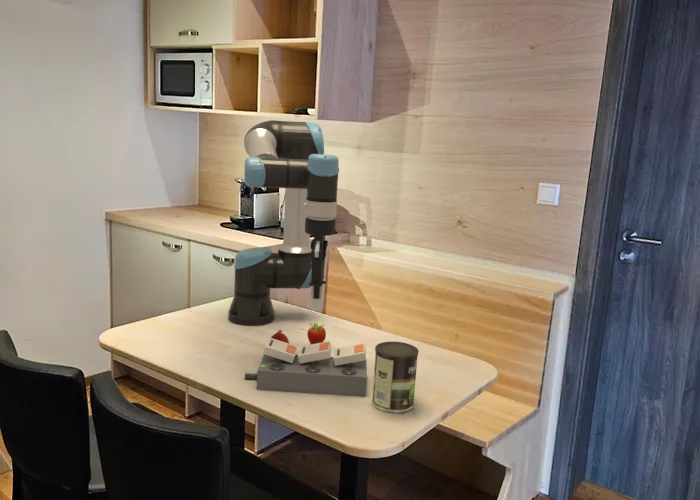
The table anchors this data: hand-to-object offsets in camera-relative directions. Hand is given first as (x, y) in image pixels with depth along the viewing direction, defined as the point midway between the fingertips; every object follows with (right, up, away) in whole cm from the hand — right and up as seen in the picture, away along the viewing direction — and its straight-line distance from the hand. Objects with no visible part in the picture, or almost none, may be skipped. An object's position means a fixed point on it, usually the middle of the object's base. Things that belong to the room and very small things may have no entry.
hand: (316, 309), depth 160 cm
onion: (-12, -15, +18) cm, 26 cm away
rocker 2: (0, -11, +3) cm, 12 cm away
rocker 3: (+9, -12, +3) cm, 15 cm away
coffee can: (+19, -22, -7) cm, 30 cm away
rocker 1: (-10, -12, +3) cm, 15 cm away
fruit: (-1, -14, +26) cm, 30 cm away
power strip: (-3, -19, +2) cm, 19 cm away
